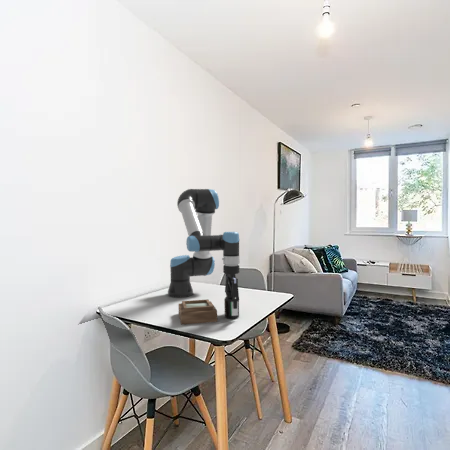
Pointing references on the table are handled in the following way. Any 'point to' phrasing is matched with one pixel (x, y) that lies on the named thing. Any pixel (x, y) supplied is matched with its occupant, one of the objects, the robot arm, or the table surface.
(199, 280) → the table surface
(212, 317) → the stand
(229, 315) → the supplement bottle
